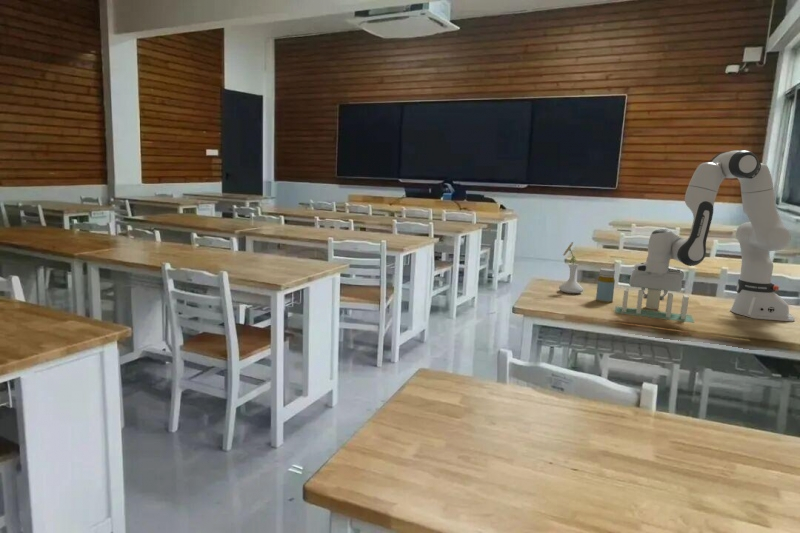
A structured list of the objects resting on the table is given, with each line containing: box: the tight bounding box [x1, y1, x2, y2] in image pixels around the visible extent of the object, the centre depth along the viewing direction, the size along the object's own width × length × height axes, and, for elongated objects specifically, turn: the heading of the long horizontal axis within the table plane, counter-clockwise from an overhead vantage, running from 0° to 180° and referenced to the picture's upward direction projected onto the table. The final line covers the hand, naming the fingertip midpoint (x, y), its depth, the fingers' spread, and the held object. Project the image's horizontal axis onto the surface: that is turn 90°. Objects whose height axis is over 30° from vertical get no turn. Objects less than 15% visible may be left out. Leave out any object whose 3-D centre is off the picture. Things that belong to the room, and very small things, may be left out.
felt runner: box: [614, 305, 695, 324], centre depth 217 cm, size 29×12×1 cm, turn 66°
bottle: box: [595, 267, 616, 304], centre depth 236 cm, size 7×7×15 cm
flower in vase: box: [558, 241, 584, 294], centre depth 253 cm, size 13×11×25 cm
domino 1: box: [635, 289, 644, 314], centre depth 219 cm, size 2×5×9 cm, turn 157°
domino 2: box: [645, 288, 662, 310], centre depth 227 cm, size 2×5×9 cm, turn 67°
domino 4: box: [679, 294, 690, 319], centre depth 212 cm, size 2×5×9 cm, turn 157°
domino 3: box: [665, 292, 674, 317], centre depth 214 cm, size 2×5×9 cm, turn 157°
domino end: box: [621, 287, 630, 312], centre depth 221 cm, size 2×5×9 cm, turn 157°
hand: (653, 299), depth 227 cm, fingers closed on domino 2, 5 cm apart
